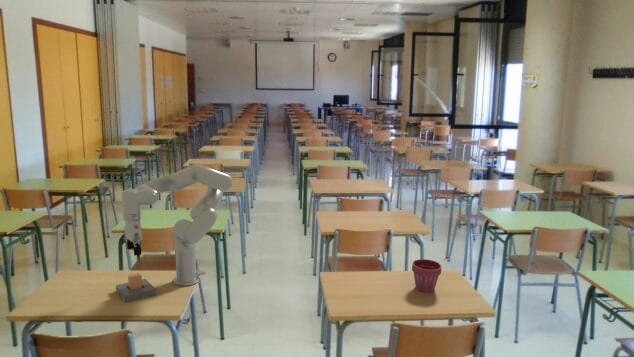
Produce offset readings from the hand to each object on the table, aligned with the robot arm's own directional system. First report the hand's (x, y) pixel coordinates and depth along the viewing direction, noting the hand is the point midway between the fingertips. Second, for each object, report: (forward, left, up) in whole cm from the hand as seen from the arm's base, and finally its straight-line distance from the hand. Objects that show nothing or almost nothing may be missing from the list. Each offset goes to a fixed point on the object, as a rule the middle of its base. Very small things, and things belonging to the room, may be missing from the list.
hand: (134, 251), depth 237 cm
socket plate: (0, 0, -20) cm, 20 cm away
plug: (0, 0, -20) cm, 20 cm away
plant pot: (-119, +73, -21) cm, 141 cm away
